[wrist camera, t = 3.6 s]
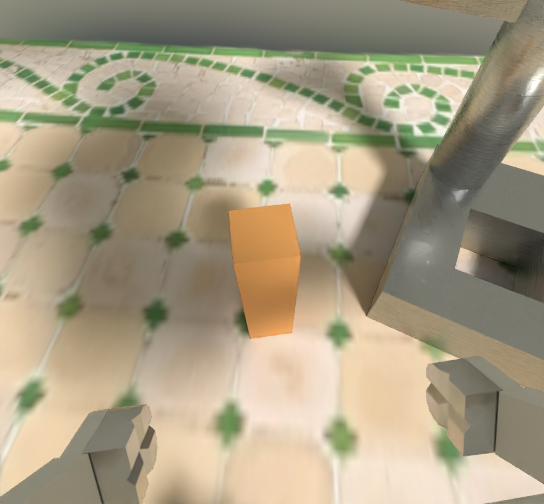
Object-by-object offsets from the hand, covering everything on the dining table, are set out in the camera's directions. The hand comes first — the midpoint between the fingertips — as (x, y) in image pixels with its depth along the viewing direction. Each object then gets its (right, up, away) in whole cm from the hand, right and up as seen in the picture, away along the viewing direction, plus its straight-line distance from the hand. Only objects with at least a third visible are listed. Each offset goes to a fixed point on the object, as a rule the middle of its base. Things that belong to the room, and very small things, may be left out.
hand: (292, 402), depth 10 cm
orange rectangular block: (-1, 0, +13) cm, 13 cm away
